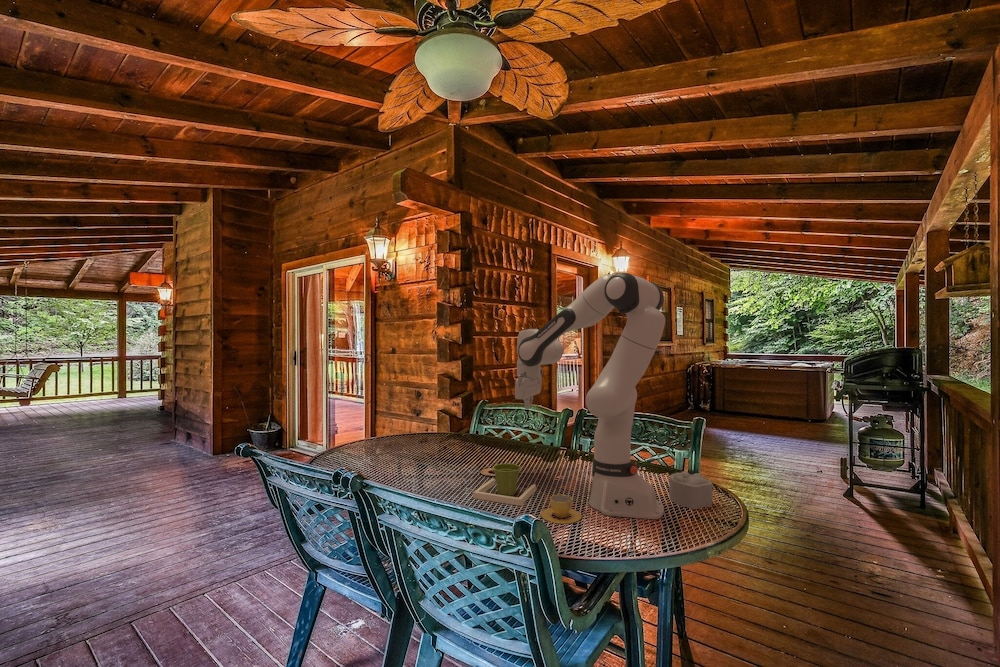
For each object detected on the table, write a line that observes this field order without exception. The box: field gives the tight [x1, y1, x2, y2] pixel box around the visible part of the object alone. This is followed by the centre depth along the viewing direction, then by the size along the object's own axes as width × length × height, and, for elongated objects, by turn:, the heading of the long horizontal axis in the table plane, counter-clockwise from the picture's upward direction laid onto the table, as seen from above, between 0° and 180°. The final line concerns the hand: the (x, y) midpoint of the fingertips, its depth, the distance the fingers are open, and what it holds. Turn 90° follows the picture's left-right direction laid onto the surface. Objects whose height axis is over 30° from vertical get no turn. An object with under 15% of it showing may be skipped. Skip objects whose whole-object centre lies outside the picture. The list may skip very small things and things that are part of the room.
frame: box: [472, 478, 537, 507], centre depth 153 cm, size 16×15×2 cm
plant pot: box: [492, 463, 522, 497], centre depth 155 cm, size 9×9×9 cm
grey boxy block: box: [668, 470, 713, 510], centre depth 148 cm, size 10×13×9 cm
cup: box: [540, 494, 583, 524], centre depth 136 cm, size 12×12×5 cm
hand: (528, 408), depth 174 cm, fingers closed
